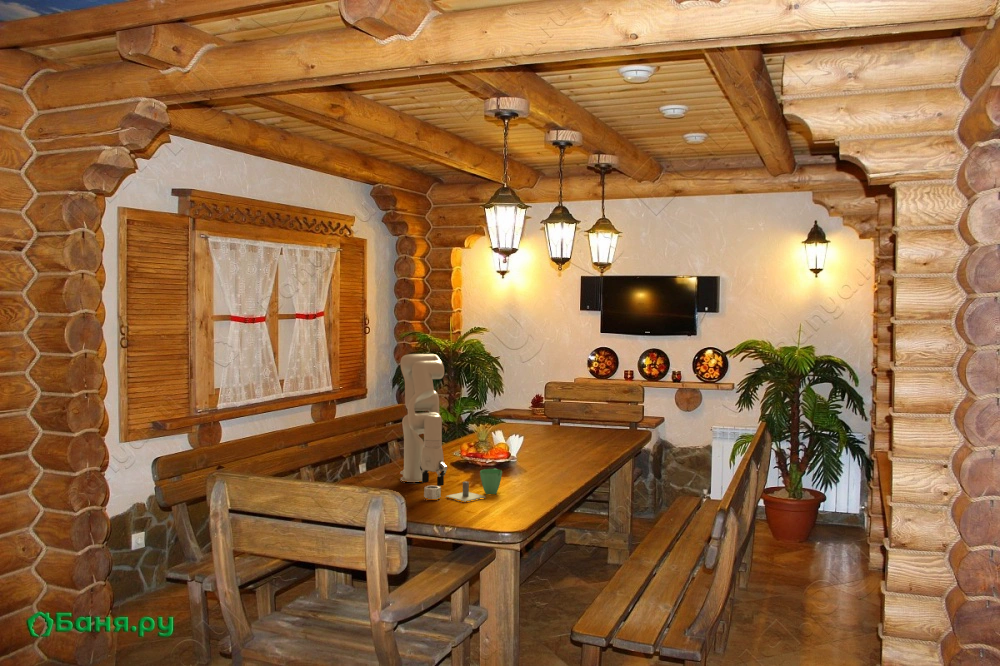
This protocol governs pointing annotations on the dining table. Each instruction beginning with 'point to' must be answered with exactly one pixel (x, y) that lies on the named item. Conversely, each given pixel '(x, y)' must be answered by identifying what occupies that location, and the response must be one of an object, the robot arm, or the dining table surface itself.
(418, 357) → the robot arm
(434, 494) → the white hollow cylinder
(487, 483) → the mug
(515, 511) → the dining table surface
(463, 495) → the square base peg stand
